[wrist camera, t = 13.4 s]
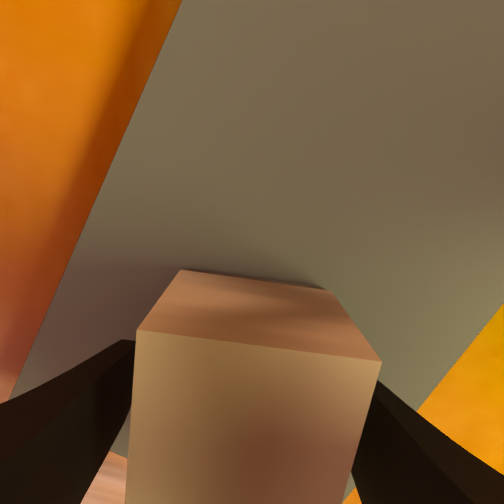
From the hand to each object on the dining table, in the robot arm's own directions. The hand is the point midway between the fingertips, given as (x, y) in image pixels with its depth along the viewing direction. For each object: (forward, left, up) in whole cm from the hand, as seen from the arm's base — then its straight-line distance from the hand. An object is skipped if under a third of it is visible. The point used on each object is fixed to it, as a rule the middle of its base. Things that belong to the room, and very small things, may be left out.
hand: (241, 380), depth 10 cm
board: (0, -4, -2) cm, 5 cm away
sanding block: (0, 0, -1) cm, 1 cm away
